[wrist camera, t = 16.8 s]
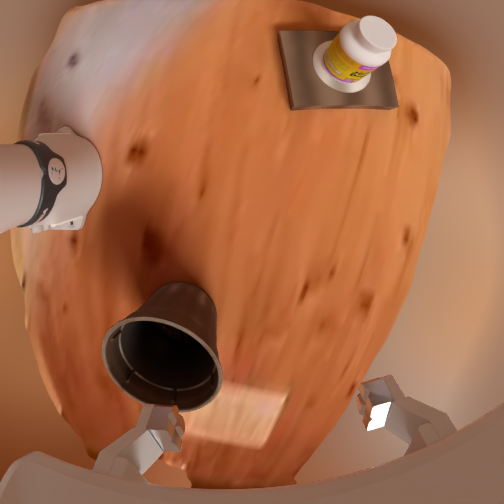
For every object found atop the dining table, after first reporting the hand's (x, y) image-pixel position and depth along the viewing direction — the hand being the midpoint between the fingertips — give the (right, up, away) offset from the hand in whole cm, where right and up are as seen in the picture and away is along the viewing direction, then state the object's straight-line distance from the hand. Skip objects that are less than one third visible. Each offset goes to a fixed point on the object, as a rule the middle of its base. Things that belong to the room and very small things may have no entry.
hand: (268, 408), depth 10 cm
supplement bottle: (+13, +34, +21) cm, 42 cm away
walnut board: (+13, +35, +24) cm, 44 cm away
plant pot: (-13, -4, +36) cm, 38 cm away
